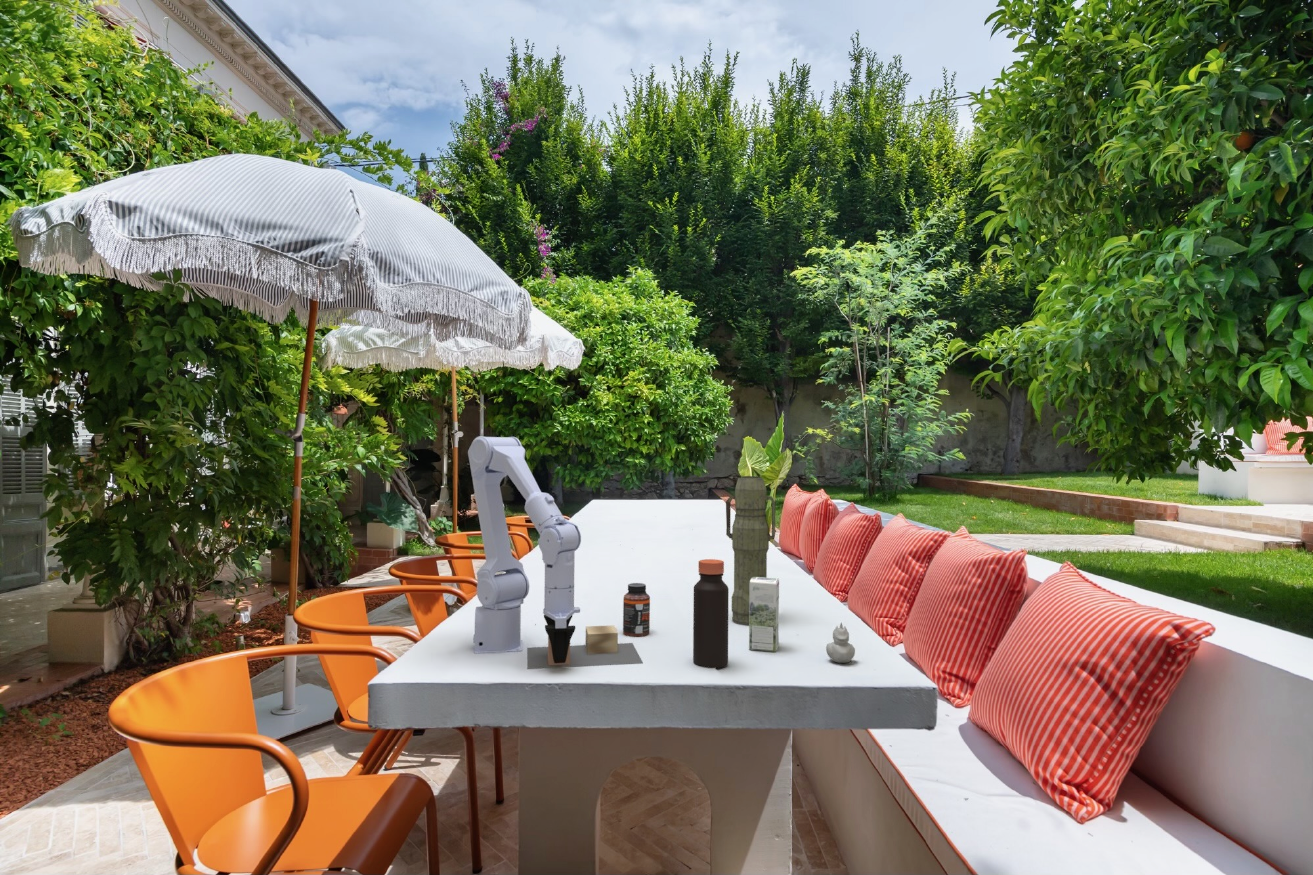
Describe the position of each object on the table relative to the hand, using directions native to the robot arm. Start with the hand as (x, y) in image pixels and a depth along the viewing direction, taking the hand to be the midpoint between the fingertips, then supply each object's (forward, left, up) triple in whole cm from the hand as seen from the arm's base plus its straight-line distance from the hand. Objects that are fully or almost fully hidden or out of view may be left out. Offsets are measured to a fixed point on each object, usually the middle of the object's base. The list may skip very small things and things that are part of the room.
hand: (558, 656), depth 136 cm
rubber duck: (+55, -7, -2) cm, 55 cm away
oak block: (+9, +7, -1) cm, 11 cm away
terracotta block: (0, 0, -1) cm, 1 cm away
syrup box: (+43, +4, -2) cm, 43 cm away
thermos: (+47, +26, -2) cm, 54 cm away
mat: (+5, +3, -1) cm, 6 cm away
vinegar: (+29, -5, -2) cm, 29 cm away
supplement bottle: (+18, +18, -2) cm, 26 cm away
